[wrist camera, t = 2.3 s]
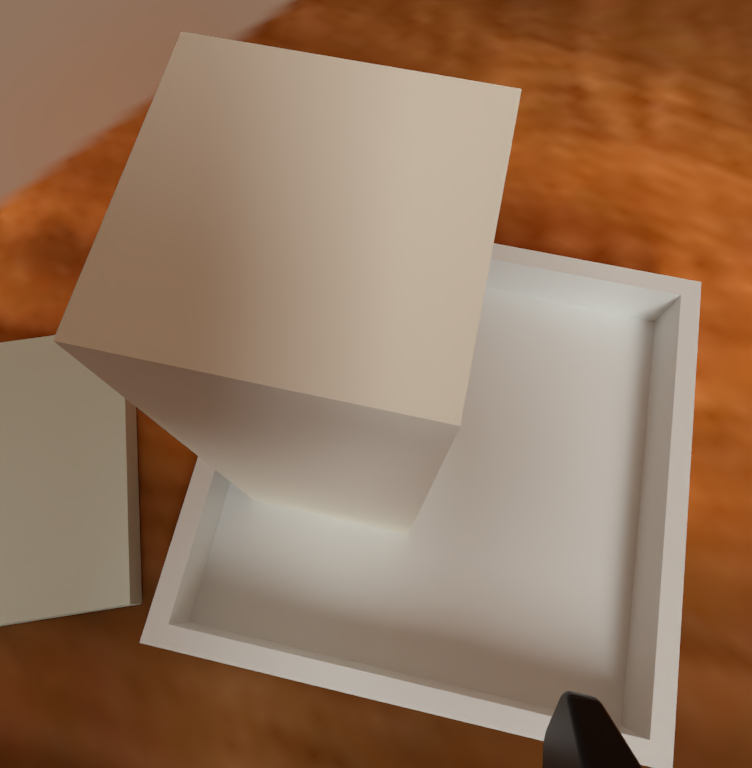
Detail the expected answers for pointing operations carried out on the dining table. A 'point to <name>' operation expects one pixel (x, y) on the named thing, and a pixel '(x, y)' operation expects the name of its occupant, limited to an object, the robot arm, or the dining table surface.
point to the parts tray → (487, 529)
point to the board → (65, 487)
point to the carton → (300, 271)
